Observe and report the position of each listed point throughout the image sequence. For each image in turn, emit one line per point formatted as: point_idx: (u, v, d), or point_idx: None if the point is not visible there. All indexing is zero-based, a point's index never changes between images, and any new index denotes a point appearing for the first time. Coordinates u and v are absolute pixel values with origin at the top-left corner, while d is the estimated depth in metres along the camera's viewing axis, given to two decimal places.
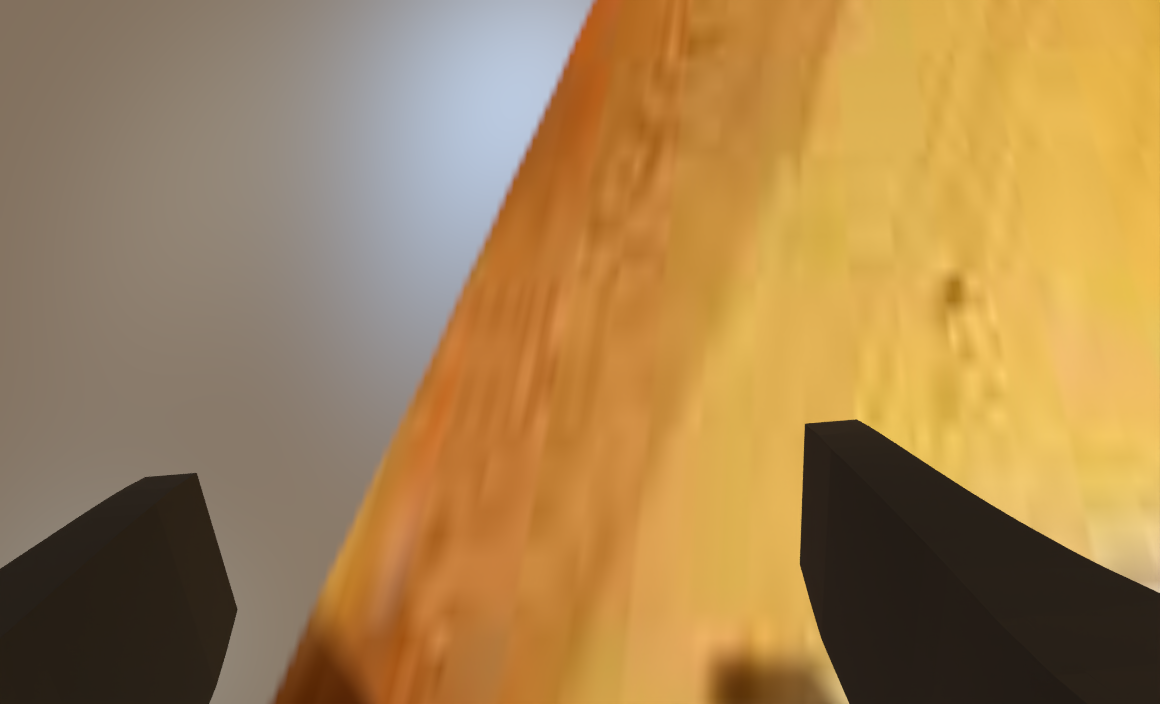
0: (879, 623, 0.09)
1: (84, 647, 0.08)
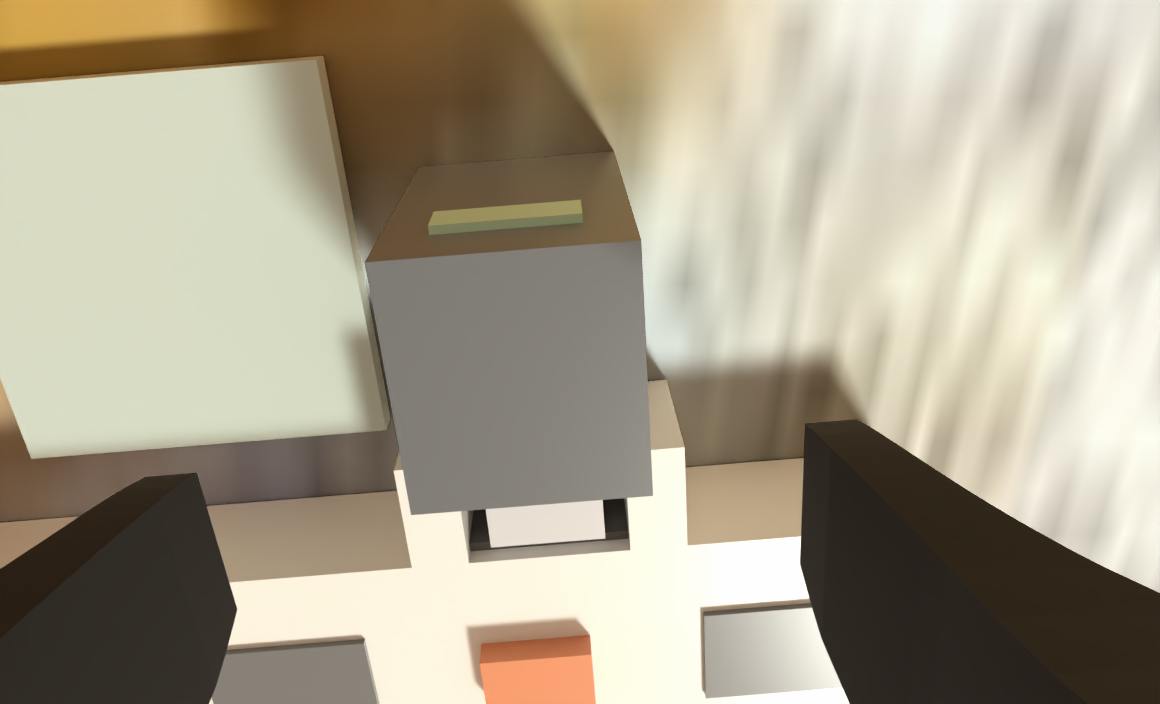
0: (879, 623, 0.09)
1: (84, 647, 0.08)
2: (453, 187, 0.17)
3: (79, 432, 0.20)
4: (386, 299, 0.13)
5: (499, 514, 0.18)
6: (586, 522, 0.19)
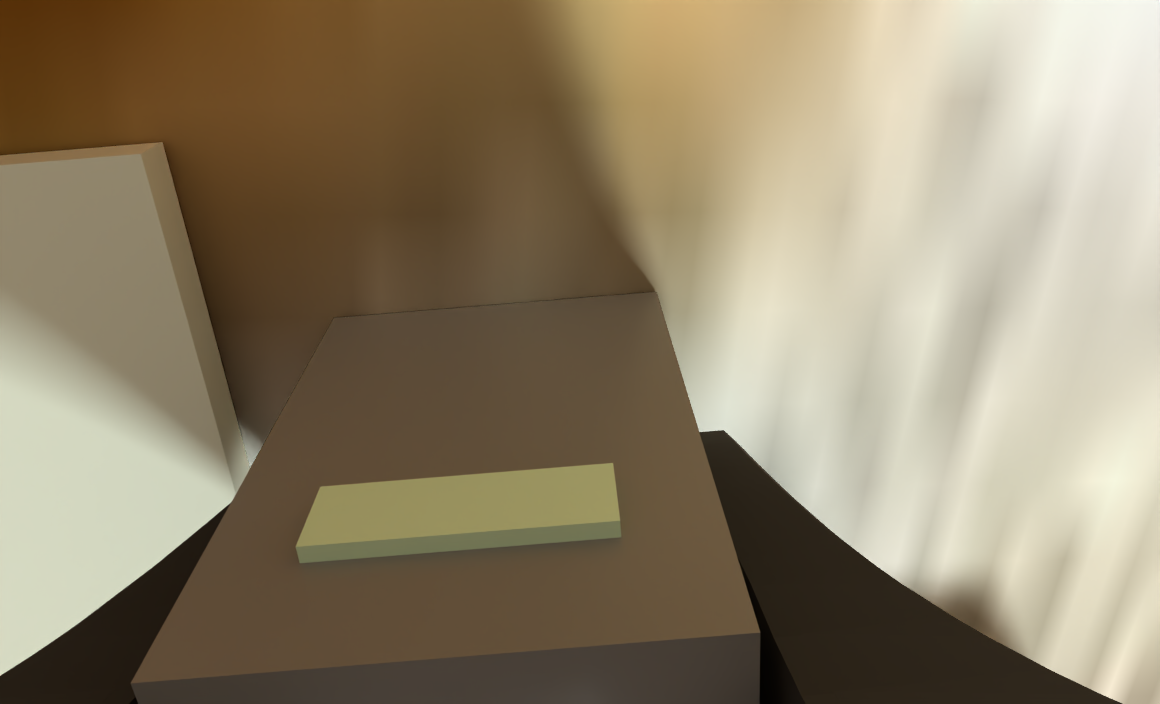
0: None
1: None
2: (378, 384, 0.09)
3: None
4: None
5: None
6: None
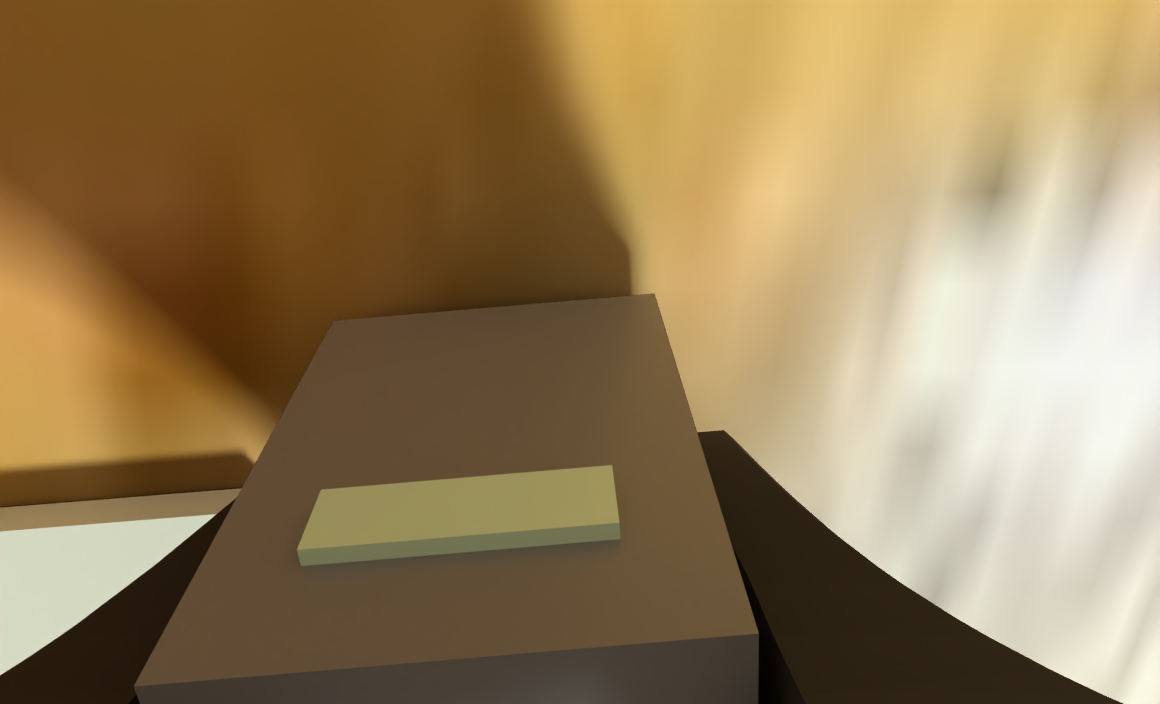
0: None
1: None
2: (379, 387, 0.09)
3: None
4: None
5: None
6: None
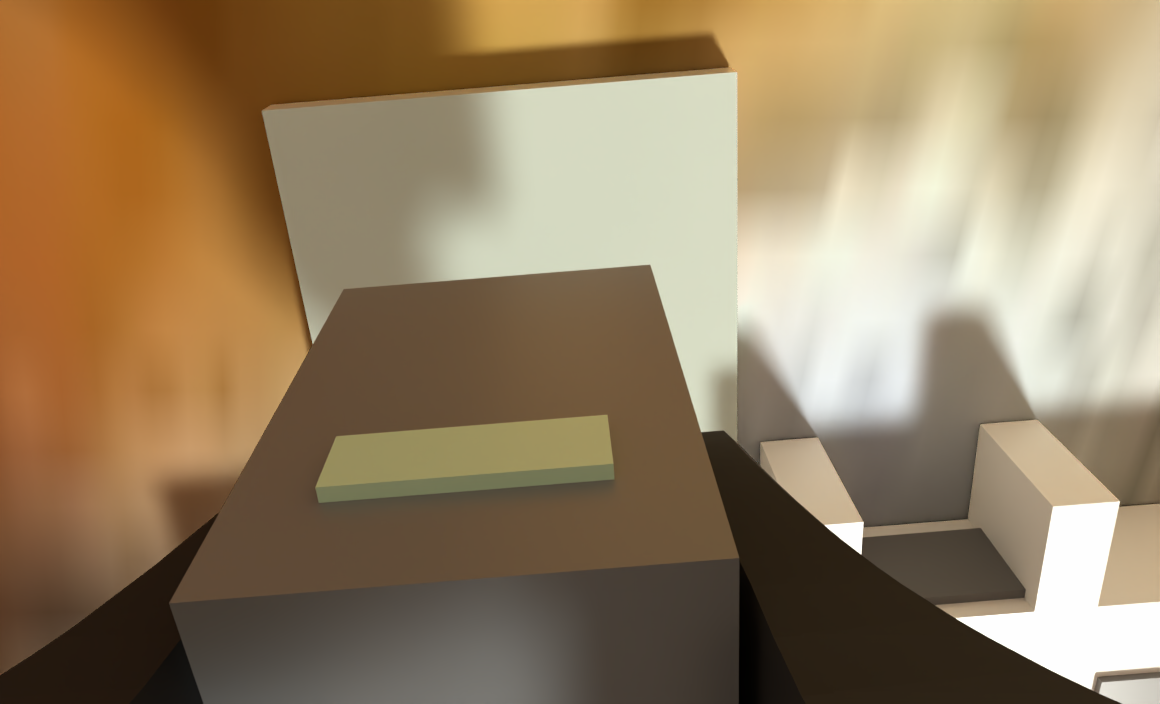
0: None
1: None
2: (388, 349, 0.10)
3: None
4: (220, 664, 0.07)
5: None
6: None
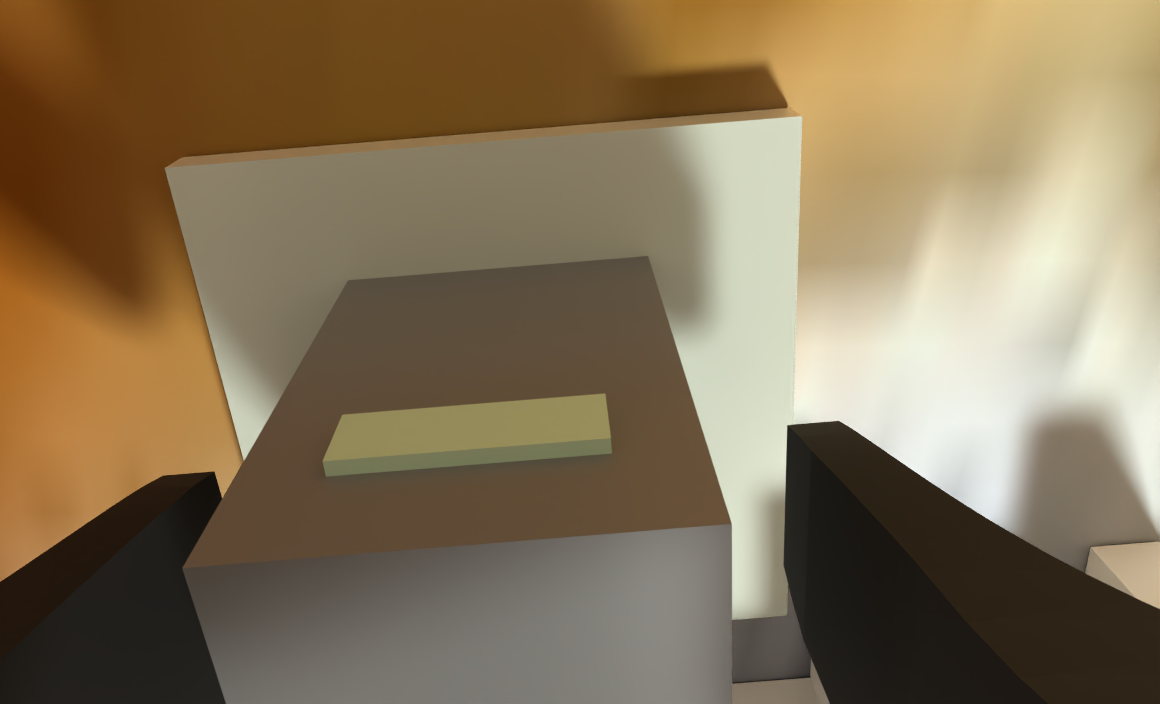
0: (858, 625, 0.09)
1: (106, 645, 0.08)
2: (391, 335, 0.10)
3: None
4: (231, 629, 0.07)
5: None
6: None
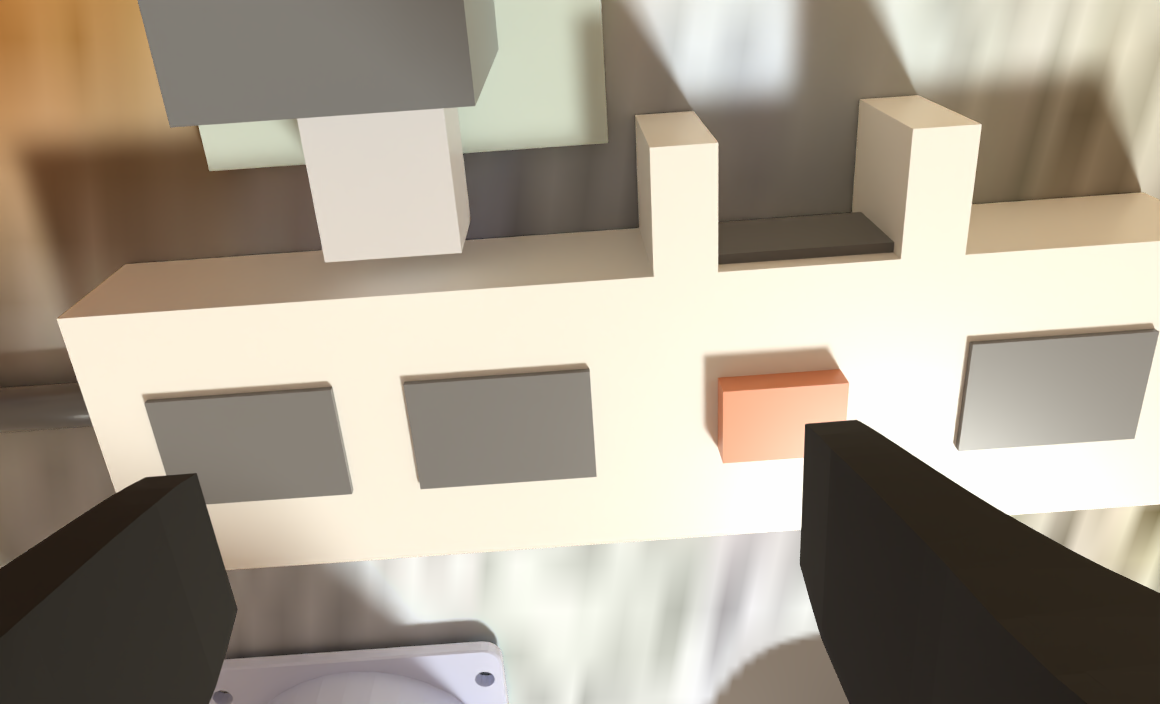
0: (879, 623, 0.09)
1: (84, 647, 0.08)
2: None
3: (266, 138, 0.18)
4: None
5: (331, 217, 0.15)
6: (437, 230, 0.16)
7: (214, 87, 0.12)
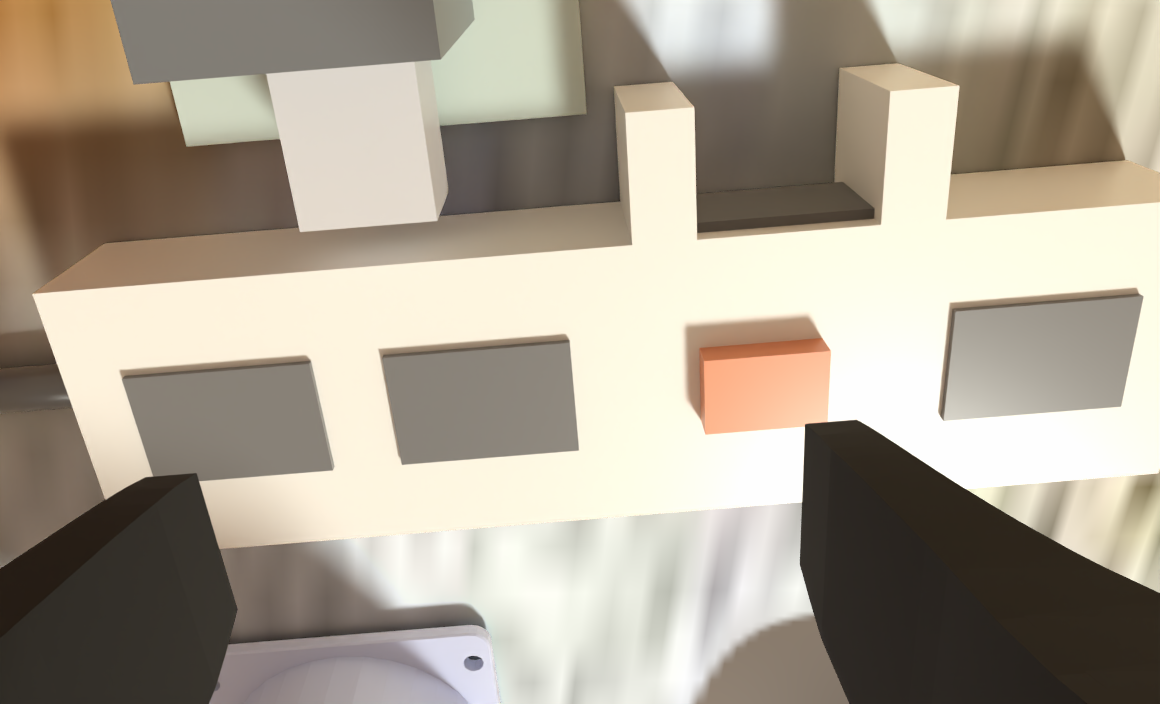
0: (879, 623, 0.09)
1: (84, 647, 0.08)
2: None
3: (243, 112, 0.18)
4: None
5: (306, 185, 0.15)
6: (412, 198, 0.15)
7: (177, 42, 0.12)
